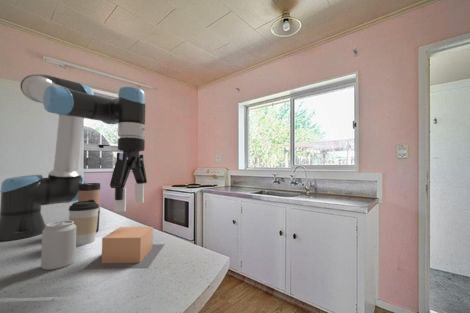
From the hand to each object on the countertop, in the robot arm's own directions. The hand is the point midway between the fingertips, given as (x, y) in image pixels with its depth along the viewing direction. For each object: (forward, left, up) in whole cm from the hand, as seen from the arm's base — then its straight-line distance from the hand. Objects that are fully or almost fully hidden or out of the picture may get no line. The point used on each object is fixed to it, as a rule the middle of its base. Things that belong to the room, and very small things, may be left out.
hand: (130, 207), depth 67 cm
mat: (0, 0, -15) cm, 15 cm away
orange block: (0, 0, -15) cm, 15 cm away
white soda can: (+5, -17, -16) cm, 24 cm away
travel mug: (-25, -27, -15) cm, 40 cm away
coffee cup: (-12, -21, -15) cm, 29 cm away
